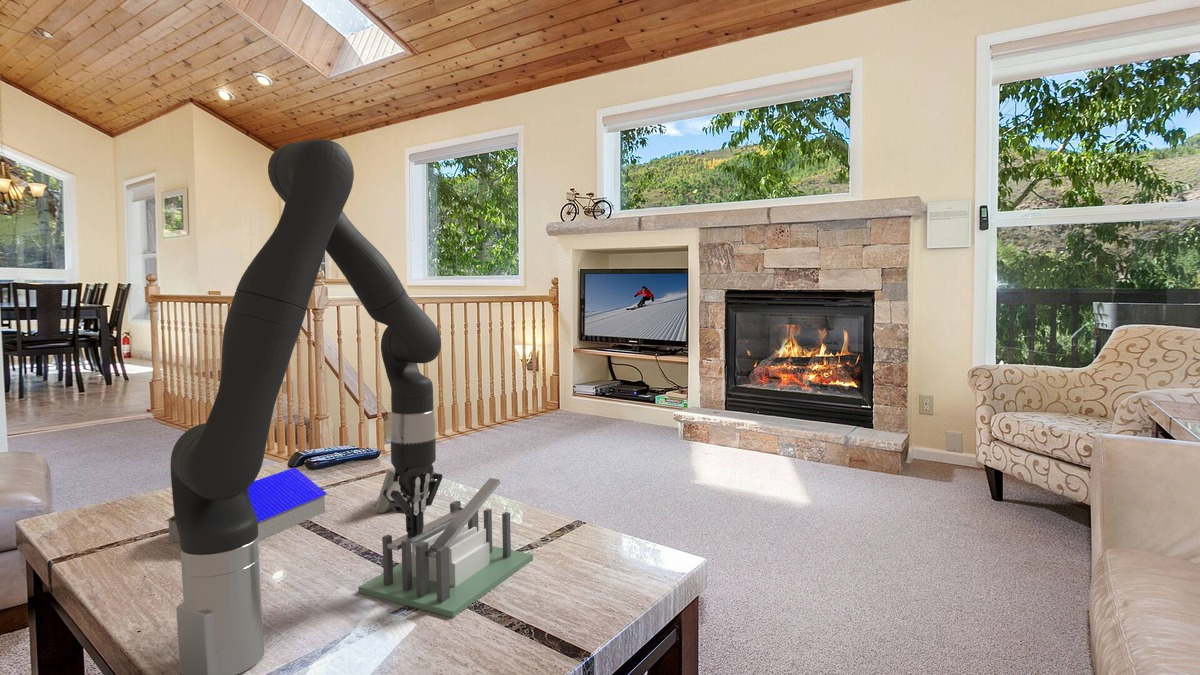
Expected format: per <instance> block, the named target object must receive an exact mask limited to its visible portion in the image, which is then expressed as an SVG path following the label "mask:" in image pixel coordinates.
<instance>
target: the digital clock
mask: <svg viewBox="0 0 1200 675" xmlns="http://www.w3.org/2000/svg"><path fill="white" fill-rule="evenodd" d="M394 474H395V468H394V466H393V465H392V467H390V468H389V469H387V471H386V474H385V477H384V480H383V483H382V486H381V490H380V492H379V496H378V499H377V500H376V504H375V509H376V512H377V513H379V514H383V513H386V512H388V511H395V509H394V508H393V507H392V506H391V504H390V503H389V502H388V500H387V499H386V498H385V497H384V495H383V492H384V490H385V489H390V488H391V486H392V485H393V483H394V481H393V477H394ZM410 506H411V503H410Z"/></svg>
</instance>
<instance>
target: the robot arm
mask: <svg viewBox="0 0 1200 675" xmlns="http://www.w3.org/2000/svg"><path fill="white" fill-rule="evenodd" d="M354 172H355V170H354V165H353V162H352V159H351V156H350V155H349V153H348V151H347V150H346V149H345V148H344V147H343V146H342V145H341V144H339V143H337V142H336V141H333V140H330V139H323V138H320V139H319V138H318V139H317V138H315V139H309V140H308V139H307V140H303V141H302V140H301V141H295V142H293V143H292V142H291V143H287V144H285V145H282V146H279V147H278V148H276V149H275V151H274V152H273V153H272V154H271V156H270V158H269V160H268V165H267V173H268V179H269V182H270V184H271V186H272V188H273V189H274V190H275V192H276V193H277V195H278V196H279V197H280V199H281V200H282V201H283V202H284V206H283V210H282V213H281V216H280V217H279V220H278V223H277V224H276V227H275V228H274V230H273V231H272V234H271V235H270V237H269V238H268V239H267V240H266V241H265V243H264V245H263V246H262V247H261V248H260V250H259V251H258V252H257V254H256V255H255V256H254V257H253V259H252V260H251V262H250V264H249V265H248V266H247V267H246V269H245V271H244V273H243V274H242V275H241V277H240V280H239V281H238V284H237V286H236V289H235V292H234V295H233V298H232V300H231V304H230V307H229V309H228V313H227V315H226V319H225V324H224V329H223V334H222V335H223V336H222V345H221V367H220V370H221V371H220V378H219V384H218V385H219V386H218V390H217V394H216V397H215V399H214V402H213V405H212V408H211V410H210V412H209V414H208V418H207V419H206V422H204V423H201V424H200V423H199V424H197V425H195V426H193V427H190V428H189V429H188V430H186V431H184V433H183V434H181V435H180V437H179V438H178V439H177V441H176V443H175V444H174V446H173V448H172V451H171V456H170V482H171V494H172V504H173V505H172V506H173V516H174V517H175V523H176V526H177V530H178V533H179V538H180V543H179V548H180V563H181V564H180V565H181V566H180V567H181V581H182V582H181V583H182V598H183V601H182V603H179V604H178V605H177V606H176V609H175V610H176V623H177V624H176V625H177V626H176V627H177V639H178V640H177V641H178V658H179V673H180V674H181V675H239V674H242V673H243V672H246V671H247V670H249V669H251V668H253V667H254V666H255V665H256V664H258V663H259V662H260V661H261V660H262V658H263V656H264V653H265V648H264V647H265V646H264V645H265V644H264V643H265V642H264V628H263V625H264V623H263V609H262V608H263V603H262V586H261V584H262V583H261V568H260V567H261V565H260V546H259V543H260V541H258V520H257V516H256V514H255V512H254V510H253V507H252V505H251V502H250V498H249V493H248V488H249V487H250V486H251V484H252V483H253V482H254V481H256V479H257V477H258V476H259V473H260V471H261V468H262V465H263V462H264V457H265V453H266V448H267V442H268V438H269V433H270V428H271V424H272V423H271V422H272V419H273V413H274V410H275V406H276V402H277V398H278V396H279V392H280V389H281V387H282V385H283V382H284V379H285V377H286V376H285V375H286V374H287V370H288V367H289V364H290V361H291V358H292V355H293V352H294V348H295V346H296V344H297V341H298V338H299V336H300V332H301V330H302V326H303V323H304V320H305V317H306V313H307V311H308V307H309V303H310V299H311V295H312V293H313V290H314V287H315V284H316V282H317V277H318V275H319V272H320V268H321V266H322V262H323V259H324V257H325V253H327V255H329V257H330V258H331V259H332V260H333V262H334V263H335V265H336V266H337V267H338V269H339V270H340V272H341V273H342V275H343V276H344V277H345V279H346V280H347V282H348V284H349V286H351V289H352V290H353V292H354V293H355V295H356V296H357V299H358V300H359V301H360V302H361V304H362V306H363V308H364V309H365V310H366V313H367V314H368V315H369V316H370V318H371V319H373V320H374V321H375V322H377V323H380V324H383V325H385V326H387V327H385V329H384V331H383V333H382V336H381V340H380V352H381V357H382V362H383V365H384V370H385V373H386V377H387V379H388V382H389V386H390V389H391V390H390V392H391V393H390V400H391V401H390V403H391V404H390V405H391V406H390V407H391V410H390V411H391V413H390V414H391V415H390V416H391V418H390V423H389V425H390V426H389V429H390V430H389V432H390V433H389V434H390V435H389V436H390V464H391V465H392V467H393V466H394V468H395V474H394V477H393V481H394V483H393V485H392V486H391V488H390V489H385V490H384V492H383V495H384V497H385V498H386V499H387V500H388V502H389V503H390V504H391V506H392V507H393V508H394V509H395V510H394V511H395V512H396V513H398V514H403V515H405V531H406V534H410V535H415V536H416V535H418V534H420V533H422V532H423V526H424V525H425V524H424V512H425V511H426V509H427V507H430V506H431V505H432V504H433V501H434V499H435V497H436V494H437V492H438V490H439V487H440V485H441V482H442V479H443V474H442V473H438V472H435V471H434V465H433V464H434V463H435V462H436V459H437V453H436V452H437V450H436V449H437V447H436V446H437V444H436V441H437V440H436V418H435V415H434V386H433V381H432V380H431V379H430V378H429V377H427V376H426V375H424V374H422V373H421V372H420V369H419V365H418V364H428V363H430V362H432V361H434V360H435V359H436V358H438V356H439V354H440V353H441V349H442V338H441V334H440V332H439V329H438V328H437V326H436V325H435V323H434V321H433V320H432V319H431V318H430V317H429V316H428V314H427V313H426V312H425V311H424V310H423V309H422V308H421V307H420V306H419V305H418V304H417V303H416V301H414V300H413V299H412V298H411V297H410V296H409V294H408V293H407V291H406V288H405V287H404V285H403V284H402V282H401V280H400V278H399V277H398V275H397V273H396V271H395V269H393V267H392V265H391V264H390V263H389V261H388V260H387V259H386V257H385V256H384V255H383V254H382V253H381V252H380V250H378V248H376V247H375V246H374V244H372V242H370V241H369V240H368V239H367V238H366V237H365V236H364V234H362V233H361V232H360V230H358V228H356V226H355V225H354V224H353V223H352V222H351V221H350V219H349V218H348V217H347V215H346V213H345V212H344V211H343V210H344V208H345V205H346V203H347V202H348V199H349V197H350V194H351V191H352V190H353V189H352V188H353V185H354V184H353V183H354V178H355V177H354V176H355V173H354ZM410 503H411V506H410Z"/></svg>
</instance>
